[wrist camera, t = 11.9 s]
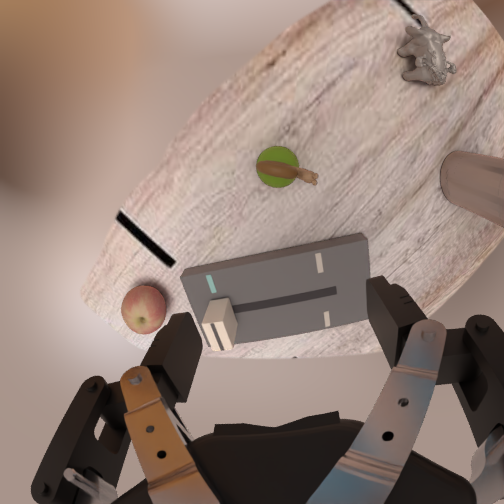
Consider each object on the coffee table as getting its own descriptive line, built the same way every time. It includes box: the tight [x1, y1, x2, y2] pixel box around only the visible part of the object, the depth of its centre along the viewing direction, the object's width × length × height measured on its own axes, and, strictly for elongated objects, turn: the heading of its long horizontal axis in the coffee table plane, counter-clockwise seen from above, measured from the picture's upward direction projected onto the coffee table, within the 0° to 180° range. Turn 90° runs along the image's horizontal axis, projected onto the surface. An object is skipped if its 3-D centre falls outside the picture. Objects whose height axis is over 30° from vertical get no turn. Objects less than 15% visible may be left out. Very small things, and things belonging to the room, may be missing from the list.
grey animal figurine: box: [398, 14, 456, 85], centre depth 24 cm, size 9×12×8 cm
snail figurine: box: [256, 146, 318, 188], centre depth 30 cm, size 5×6×12 cm
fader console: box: [180, 233, 370, 347], centre depth 42 cm, size 28×14×3 cm, turn 104°
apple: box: [121, 286, 166, 334], centre depth 42 cm, size 8×8×8 cm
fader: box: [202, 298, 238, 351], centre depth 38 cm, size 3×5×6 cm, turn 14°
